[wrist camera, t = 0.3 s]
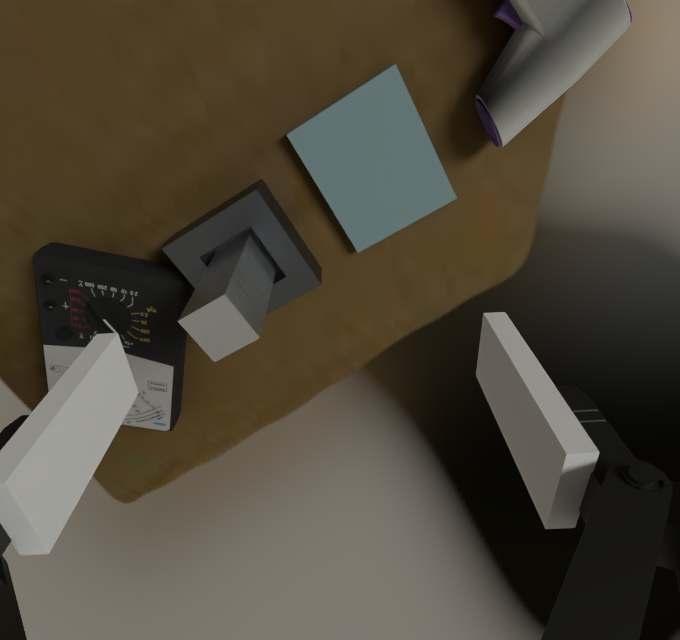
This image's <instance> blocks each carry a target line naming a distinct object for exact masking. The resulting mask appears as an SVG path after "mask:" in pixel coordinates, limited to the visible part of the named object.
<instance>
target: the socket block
mask: <svg viewBox="0 0 680 640" xmlns="http://www.w3.org/2000/svg"><path fill="white" fill-rule="evenodd" d="M250 229H253V230H254V232H255V233H256V235H257V236H258V237H259V239H260V240H261V242H262V243H263V244H264V246H265V247H266V249H267V250H268V251H269V253H270V254H271V256H272V257H273V258H274V260H275V261H276V263H277V268H276V272H275V277H274V281H273V285H272V289H271V294H270V298H269V302H268V306H267V311H266V314H268V313H270V312H272V311H274V310H275V309H277V308H279V307H281V306H283V305H285V304H286V303H288V302H290V301H292V300H294V299H296V298H297V297H299V296H301V295H303V294H305V293H307V292H308V291H310V290H312V289H314V288H316V287H318V286H320V285H321V274H322V268H321V267H320V265H319V264H318V262H317V261H316V259H315V258H314V256H313V255H312V253H311V252H310V250H309V249H308V247H307V246H306V244H305V243H304V241H303V240H302V238H301V237H300V235H299V234H298V232H297V231H296V229H295V228H294V226H293V225H292V223H291V222H290V220H289V219H288V217H287V216H286V214H285V213H284V211H283V210H282V208H281V207H280V205H279V204H278V202H277V201H276V199H275V198H274V196H273V195H272V193H271V192H270V190H269V189H268V187H267V186H266V184H265V183H264V181H263V180H262V179H261V180H259V181H258V182H256V183H255V184H253V185H251V186H250V187H248V188H247V189H245V190H243V191H242V192H240V193H239V194H237V195H236V196H234V197H232V198H231V199H229V200H228V201H226V202H225V203H223V204H221V205H220V206H218V207H217V208H215V209H213V210H212V211H210V212H209V213H207V214H206V215H204V216H202V217H201V218H199V219H198V220H196V221H194V222H193V223H191V224H190V225H188V226H187V227H185V228H183V229H182V230H180V231H179V232H177V233H175V234H174V235H173V236H172V237H171V238H170V240H169V241H168V242H167V243H166V244H165V246H164V247H163V248H162V250H163V251H164V252H165V253H166V255H167V256H168V257H169V258H170V259H171V261H172V262H173V263H174V264H175V265H176V267H177V268H178V269H179V270H180V271H181V272H182V274H183V275H184V276H185V277H186V278H187V280H188V281H189V282H190V283H191V284H192V285H193V287H194V288H195V289H196V287H197V285H198V283H199V281H200V280H201V278H202V276H203V274H204V272H205V270H206V269H207V267H208V265H209V263H210V261H211V260H212V258H213V256H214V254H215V252H216V251H217V249H219V248H220V247H222V246H223V245H225V244H227V243H228V242H230V241H232V240H233V239H235V238H237V237H238V236H240V235H242V234H243V233H245V232H247V231H248V230H250Z"/></svg>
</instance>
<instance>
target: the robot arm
mask: <svg viewBox="0 0 680 640" xmlns="http://www.w3.org/2000/svg"><path fill="white" fill-rule="evenodd" d="M476 376H477V379H478V381H479V383H480V385H481V387H482V390H483V392H484V394H485V396H486V398H487V400H488V403H489V405H490V407H491V409H492V412H493V414H494V416H495V418H496V420H497V423H498V425H499V427H500V429H501V431H502V434H503V436H504V438H505V440H506V443H507V445H508V447H509V449H510V451H511V453H512V456H513V458H514V460H515V462H516V465H517V467H518V469H519V471H520V473H521V476H522V478H523V480H524V482H525V484H526V487H527V489H528V491H529V493H530V495H531V498H532V500H533V502H534V504H535V506H536V509H537V510H538V513H539V515H540V517H541V520H542V522H543V524H544V526H545V529H557V528H574V527H575V526H576V523H577V520H578V517H579V514H581V515H582V517H583V519H584V521H585V523H586V527H585V530H584V532H583V534H582V537H581V540H580V542H579V545H578V547H577V550H576V552H575V555H574V557H573V560H572V562H571V565H570V568H569V570H568V573H567V576H566V578H565V580H564V583H563V585H562V588H561V591H560V593H559V596H558V598H557V601H556V603H555V606H554V608H553V611H552V613H551V616H550V618H549V621H548V624H547V626H546V629H545V631H544V634H543V636H542V639H541V640H639V636H640V632H641V627H642V623H643V619H644V614H645V610H646V606H647V602H648V597H649V593H650V589H651V585H652V580H653V576H654V572H655V568H656V566H660V567H664V568H668V569H672V570H676V571H677V578H678V584H679V591H680V484H678V483H675V482H671V481H669V480H668V478H667V477H666V475H664V474H663V473H662V472H661V471H660V470H659V469H657V468H656V467H654V466H652V465H650V464H648V463H646V462H643V461H640V460H636V459H635V458H634V456H633V455H632V454H631V452H630V451H629V450H628V448H627V447H626V446H625V444H624V443H623V442H622V440H621V439H620V438H619V436H618V435H617V434H616V432H615V431H614V430H613V428H612V427H611V426H610V424H609V423H608V422H606V419H605V418H604V416H603V415H602V414H601V412H600V411H598V408H597V407H596V406H595V404H594V403H593V402H592V400H591V399H590V398H589V396H587V395H586V394H584V393H583V392H582V391H580V390H579V389H577V388H576V387H575V386H556V387H555V385H554V384H553V382H552V381H551V379H550V378H549V377H548V375H547V374H546V372H545V371H544V369H543V368H542V366H541V365H540V363H539V362H538V360H537V359H536V357H535V356H534V354H533V353H532V351H531V350H530V348H529V347H528V345H527V344H526V342H525V341H524V339H523V338H522V336H521V335H520V334H519V332H518V330H517V329H516V328H515V326H514V325H513V323H512V322H511V320H510V319H509V317H508V316H507V314H506V313H505V312H498V313H484V314H483V322H482V330H481V338H480V347H479V355H478V362H477V370H476ZM138 393H139V392H138V389H137V386H136V383H135V381H134V378H133V375H132V372H131V369H130V366H129V363H128V361H127V358H126V355H125V352H124V349H123V346H122V343H121V340H120V338H119V335H118V333H107V334H96V336H95V337H94V338H93V339H92V340H91V342H90V343H89V344H88V345H87V346H86V348H85V349H84V350H83V351H82V352H81V354H80V355H79V356H78V357H77V359H76V360H75V361H74V362H73V363H72V365H71V366H70V367H69V368H68V369H67V371H66V372H65V373H64V374H63V375H62V377H61V378H60V379H59V380H58V382H57V383H56V384H55V385H54V386H53V388H52V389H51V390H50V391H49V392H48V394H47V395H46V396H45V397H44V399H43V400H42V401H41V402H40V403H39V405H38V406H37V407H36V408H35V409H34V411H33V412H32V413H31V414H30V415H23V416H20V417H19V418H18V419H16V420H15V421H13V422H12V423H11V424H9V425H8V426H7V427H5V428H4V429H3V430H2V432H1V433H0V640H27V639H26V635H25V631H24V627H23V623H22V619H21V615H20V611H19V607H18V603H17V600H16V595H15V591H14V588H13V584H12V580H11V576H10V572H9V568H8V564H7V562H6V560H5V559H4V558H3V556H2V554H3V553H4V551H5V550H6V548H7V546H8V545H9V543H10V542H12V544H13V545H14V547H15V548H16V550H17V551H18V553H19V554H20V555H35V554H49V552H50V551H51V549H52V547H53V545H54V544H55V542H56V540H57V538H58V536H59V535H60V533H61V531H62V529H63V527H64V526H65V524H66V522H67V520H68V518H69V517H70V515H71V513H72V511H73V510H74V508H75V506H76V504H77V502H78V501H79V499H80V497H81V495H82V493H83V491H84V490H85V488H86V486H87V484H88V483H89V481H90V479H91V477H92V476H93V474H94V472H95V470H96V468H97V467H98V465H99V463H100V461H101V460H102V458H103V456H104V454H105V452H106V451H107V449H108V447H109V445H110V443H111V442H112V440H113V438H114V436H115V434H116V433H117V431H118V429H119V427H120V426H121V424H122V422H123V420H124V418H125V417H126V415H127V413H128V411H129V409H130V408H131V406H132V404H133V402H134V401H135V399H136V397H137V395H138Z"/></svg>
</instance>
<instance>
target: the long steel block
mask: <svg viewBox="0 0 680 640" xmlns="http://www.w3.org/2000/svg"><path fill="white" fill-rule="evenodd" d="M276 268H277V263H276V261H275V260H274V258H273V257H272V256H271V254H270V253H269V251H268V250H267V249H266V247H265V246H264V244H263V243H262V242H261V240H260V239H259V237H258V236H257V235H256V233H255V232H254V230H253V229H250V230H248V231H247V232H245V233H243V234H242V235H240V236H238V237H237V238H235V239H233V240H232V241H230V242H228V243H227V244H225V245H223V246H222V247H220V248H219V249H217V251H216V252H215V254H214V256H213V258H212V260H211V261H210V263H209V265H208V267H207V269H206V270H205V272H204V274H203V276H202V278H201V280H200V281H199V283H198V285H197V287H196V289H195V290H194V292H193V294H192V296H191V298H190V299H189V301H188V303H187V305H186V307H185V309H184V310H183V312H182V314H181V316H180V318H179V319H178V322H179V324H180V325H181V326H182V327H183V328H184V329H185V330H186V331H187V332H188V334H189V335H190V336H191V337H192V338H193V339H194V340H195V341H196V342H197V343H198V345H199V346H200V347H201V348H202V349H203V350H204V351H205V352H206V353H207V355H208V356H209V357H210V358H211V359H212V360H213V361H214V362H216V361H218V360H220V359H221V358H223V357H225V356H227V355H229V354H231V353H233V352H235V351H237V350H238V349H240V348H242V347H244V346H246V345H248V344H250V343H252V342H253V341H255V340H257V339H259V338H260V336H261V332H262V328H263V324H264V319H265V315H266V311H267V306H268V302H269V298H270V294H271V289H272V285H273V281H274V277H275V272H276Z"/></svg>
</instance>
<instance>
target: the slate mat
mask: <svg viewBox="0 0 680 640" xmlns="http://www.w3.org/2000/svg"><path fill="white" fill-rule="evenodd" d="M287 137H288V139H289V140H290V142H291V143H292V145H293V147H294V148H295V150H296V152H297V153H298V155H299V157H300V158H301V160H302V162H303V163H304V165H305V166H306V168H307V170H308V171H309V173H310V175H311V176H312V178H313V180H314V181H315V183H316V185H317V186H318V188H319V190H320V191H321V193H322V194H323V196H324V198H325V199H326V201H327V203H328V204H329V206H330V208H331V209H332V211H333V213H334V214H335V216H336V217H337V219H338V221H339V222H340V224H341V226H342V227H343V229H344V231H345V232H346V234H347V236H348V237H349V239H350V241H351V242H352V244H353V245H354V247H355V249H356V250H357V252H358V253H359V252H361V251H362V250H364V249H366V248H368V247H370V246H371V245H373V244H375V243H377V242H379V241H381V240H382V239H384V238H386V237H388V236H390V235H391V234H393V233H395V232H397V231H399V230H400V229H402V228H404V227H406V226H408V225H410V224H411V223H413V222H415V221H417V220H419V219H420V218H422V217H424V216H426V215H428V214H430V213H431V212H433V211H435V210H437V209H439V208H440V207H442V206H444V205H446V204H448V203H449V202H451V201H453V200H455V199H457V198H456V195H455V193H454V191H453V189H452V187H451V184H450V182H449V180H448V178H447V176H446V173H445V171H444V169H443V167H442V165H441V163H440V160H439V158H438V156H437V154H436V152H435V149H434V147H433V145H432V143H431V141H430V138H429V136H428V134H427V132H426V130H425V127H424V125H423V123H422V121H421V119H420V117H419V114H418V112H417V110H416V108H415V106H414V103H413V101H412V99H411V97H410V95H409V92H408V90H407V88H406V86H405V84H404V82H403V79H402V77H401V75H400V73H399V71H398V68H397V66H396V64H393V65H391V66H390V67H388V68H387V69H385V70H383V71H382V72H380V73H379V74H377V75H376V76H374V77H373V78H371V79H370V80H368V81H367V82H365V83H363V84H362V85H360V86H359V87H357V88H356V89H354V90H353V91H351V92H350V93H348V94H347V95H345V96H343V97H342V98H340V99H339V100H337V101H336V102H334V103H333V104H331V105H330V106H328V107H327V108H325V109H324V110H322V111H320V112H319V113H317V114H316V115H314V116H313V117H311V118H310V119H308V120H307V121H305V122H304V123H302V124H300V125H299V126H297V127H296V128H294V129H293V130H291V131H290V132H288V133H287Z"/></svg>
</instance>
